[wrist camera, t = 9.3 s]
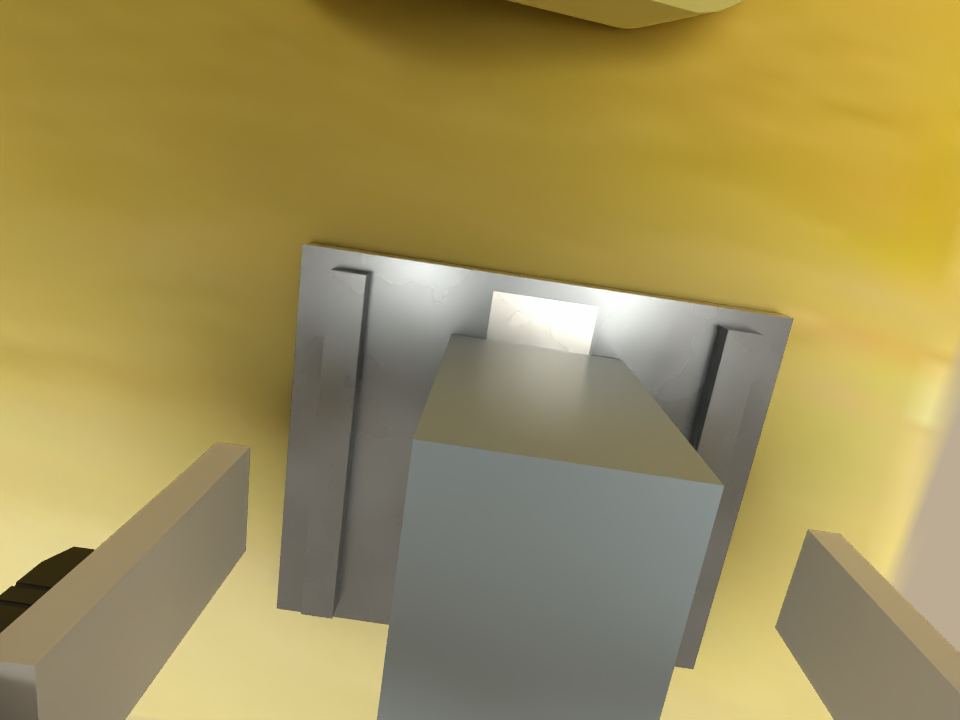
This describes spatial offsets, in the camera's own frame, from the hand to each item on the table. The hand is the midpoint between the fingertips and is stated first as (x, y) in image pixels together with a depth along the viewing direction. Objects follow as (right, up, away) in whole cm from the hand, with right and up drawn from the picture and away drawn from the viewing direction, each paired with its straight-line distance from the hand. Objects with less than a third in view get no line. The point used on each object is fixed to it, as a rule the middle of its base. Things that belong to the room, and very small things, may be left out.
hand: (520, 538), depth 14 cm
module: (0, 0, +4) cm, 4 cm away
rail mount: (0, +1, +5) cm, 5 cm away
